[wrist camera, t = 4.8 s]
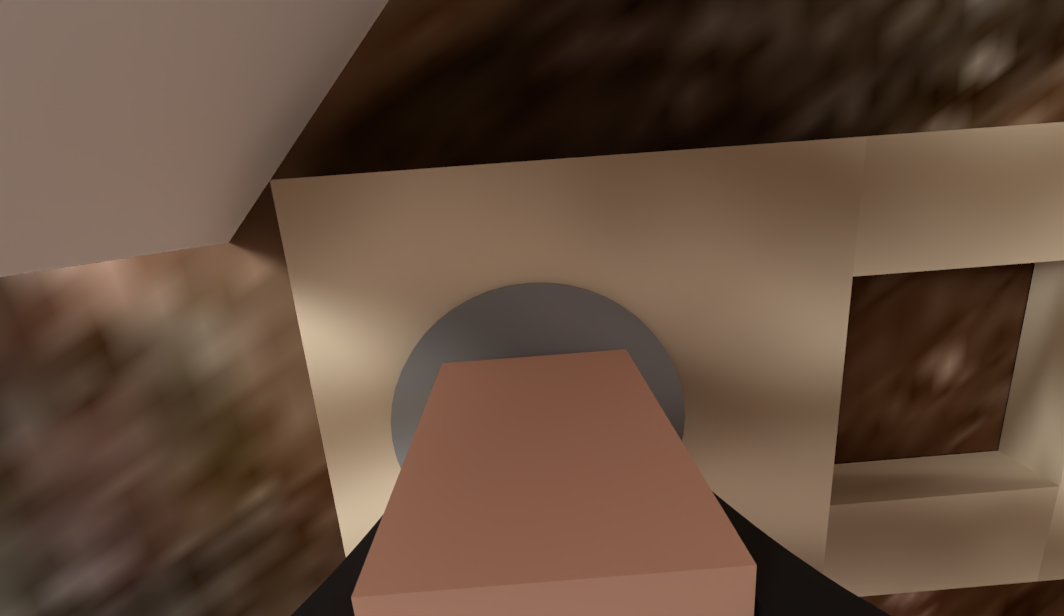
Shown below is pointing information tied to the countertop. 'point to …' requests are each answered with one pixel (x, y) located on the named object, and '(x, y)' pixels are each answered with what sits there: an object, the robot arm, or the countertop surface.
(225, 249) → the countertop surface
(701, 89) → the countertop surface
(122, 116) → the milk
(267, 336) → the countertop surface
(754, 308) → the pocket board
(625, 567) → the terracotta block
